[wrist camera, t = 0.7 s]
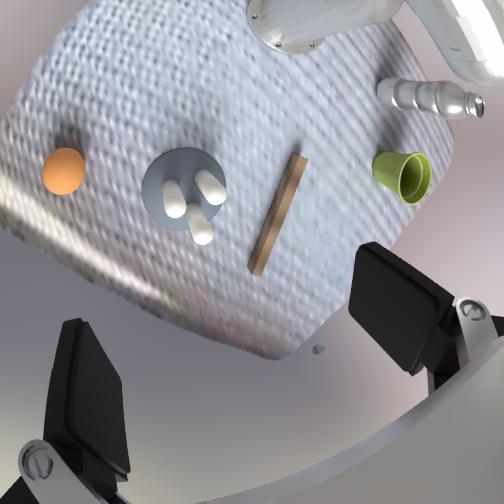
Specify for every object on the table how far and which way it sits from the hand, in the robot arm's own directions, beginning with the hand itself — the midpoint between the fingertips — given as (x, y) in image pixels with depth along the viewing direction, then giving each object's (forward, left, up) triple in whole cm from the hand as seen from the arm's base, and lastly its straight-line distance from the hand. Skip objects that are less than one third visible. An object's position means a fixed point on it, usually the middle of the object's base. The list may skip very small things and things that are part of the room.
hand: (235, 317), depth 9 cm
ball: (+4, -14, -29) cm, 33 cm away
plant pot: (-11, +36, -32) cm, 50 cm away
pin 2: (+6, +5, -32) cm, 33 cm away
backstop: (+4, +18, -32) cm, 37 cm away
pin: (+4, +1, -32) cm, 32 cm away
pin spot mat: (+4, +3, -32) cm, 33 cm away
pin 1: (+1, +5, -32) cm, 33 cm away
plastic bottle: (-24, +30, -32) cm, 50 cm away
